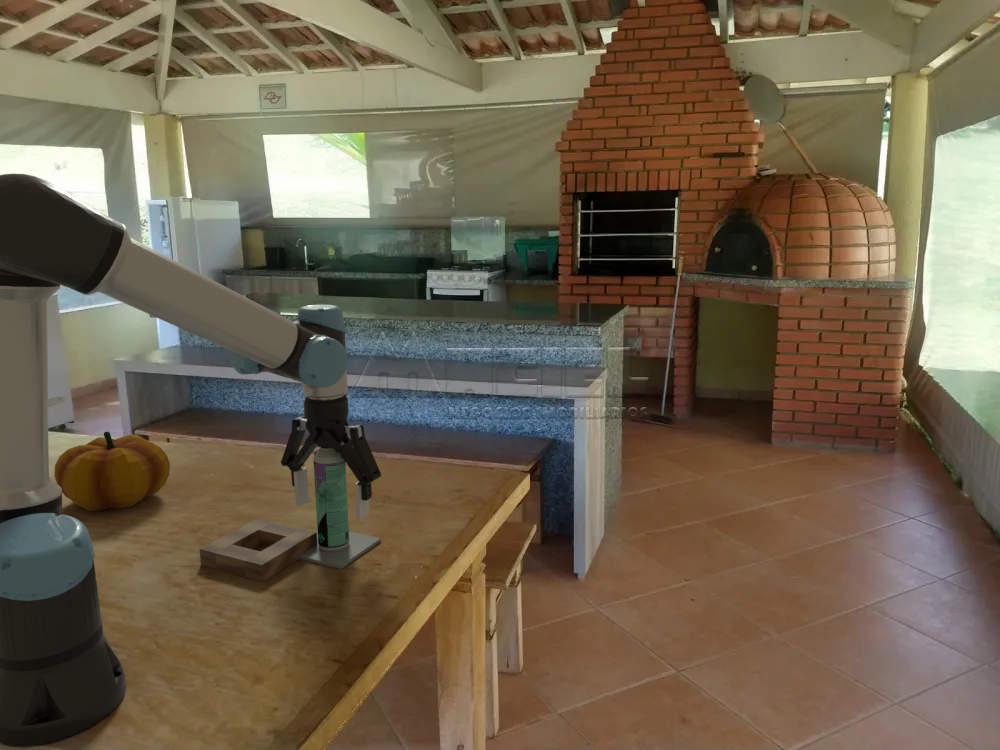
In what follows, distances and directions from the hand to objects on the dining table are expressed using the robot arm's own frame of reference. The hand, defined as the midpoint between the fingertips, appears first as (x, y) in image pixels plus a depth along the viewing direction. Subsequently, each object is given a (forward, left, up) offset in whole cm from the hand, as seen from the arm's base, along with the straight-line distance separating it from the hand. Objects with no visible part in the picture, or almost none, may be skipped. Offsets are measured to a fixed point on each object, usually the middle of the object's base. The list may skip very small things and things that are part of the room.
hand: (332, 510), depth 134 cm
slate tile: (0, 0, -7) cm, 7 cm away
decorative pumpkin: (-1, +56, -8) cm, 57 cm away
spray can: (0, 0, -7) cm, 7 cm away
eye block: (-8, +10, -7) cm, 15 cm away
